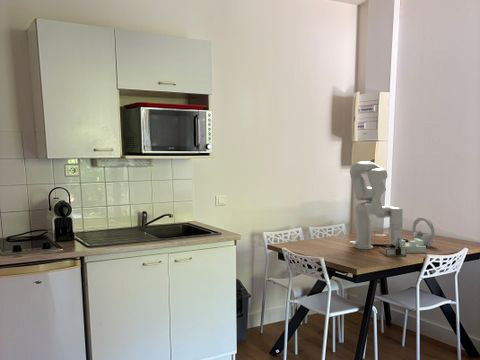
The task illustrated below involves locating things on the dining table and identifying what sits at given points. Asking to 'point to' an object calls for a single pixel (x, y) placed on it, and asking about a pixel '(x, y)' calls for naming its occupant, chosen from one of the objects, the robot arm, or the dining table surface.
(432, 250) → the dining table surface
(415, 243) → the stand
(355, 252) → the dining table surface
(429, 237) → the headphones
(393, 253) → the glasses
